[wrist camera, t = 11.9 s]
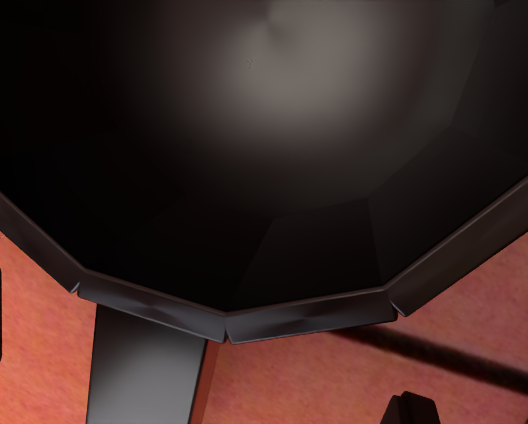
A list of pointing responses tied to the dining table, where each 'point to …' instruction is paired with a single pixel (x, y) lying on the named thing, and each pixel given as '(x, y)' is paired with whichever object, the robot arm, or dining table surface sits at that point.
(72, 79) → the pan
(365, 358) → the dining table surface
